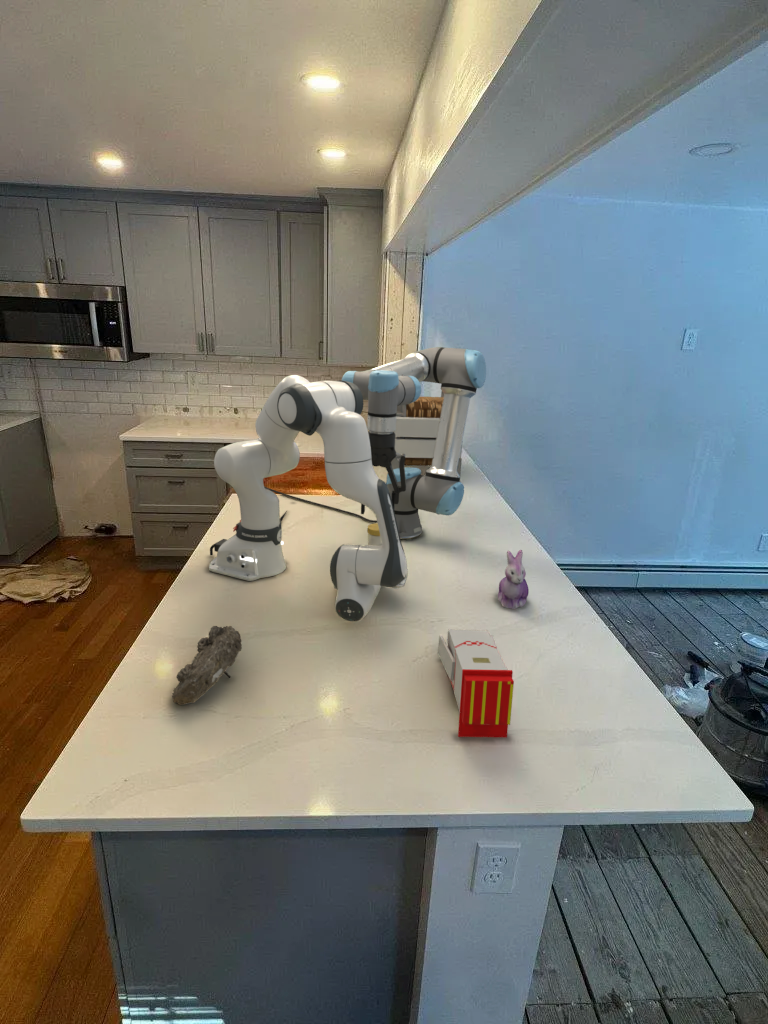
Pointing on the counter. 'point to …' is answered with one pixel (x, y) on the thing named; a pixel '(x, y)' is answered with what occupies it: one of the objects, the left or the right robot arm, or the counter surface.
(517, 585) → the figurine
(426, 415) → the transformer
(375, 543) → the jar
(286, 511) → the feather
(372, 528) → the lid
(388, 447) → the right robot arm
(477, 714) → the toy
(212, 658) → the fossil
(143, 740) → the counter surface
